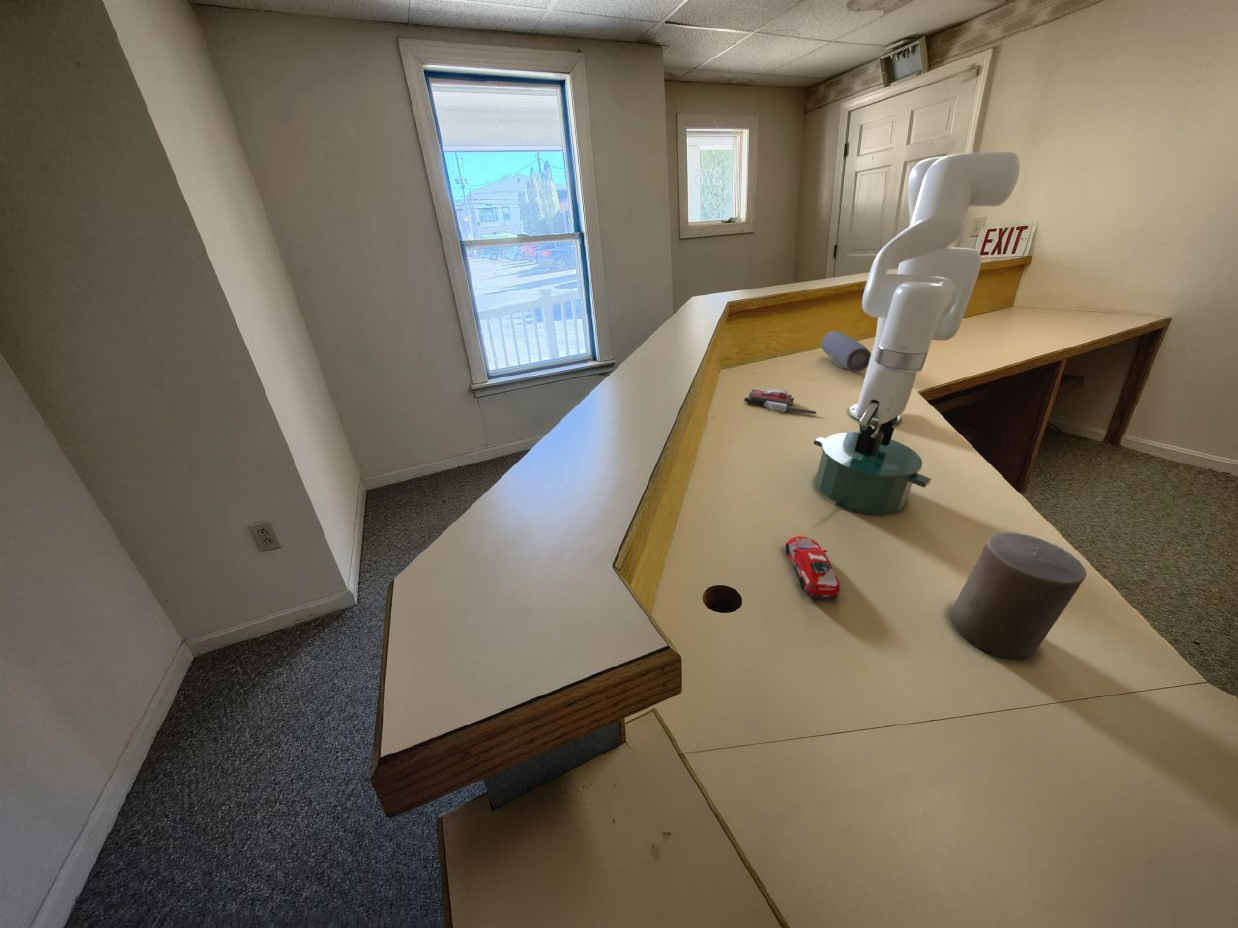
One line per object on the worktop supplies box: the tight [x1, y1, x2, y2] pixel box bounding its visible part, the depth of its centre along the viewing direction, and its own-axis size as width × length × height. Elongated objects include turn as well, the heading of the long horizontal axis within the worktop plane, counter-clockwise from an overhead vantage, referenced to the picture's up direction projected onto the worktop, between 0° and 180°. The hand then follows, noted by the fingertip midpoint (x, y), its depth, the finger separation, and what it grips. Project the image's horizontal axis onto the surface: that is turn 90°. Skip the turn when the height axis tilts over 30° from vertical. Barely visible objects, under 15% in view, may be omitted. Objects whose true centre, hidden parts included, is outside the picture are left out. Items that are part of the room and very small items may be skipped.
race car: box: [785, 535, 841, 600], centre depth 72 cm, size 13×5×4 cm, turn 177°
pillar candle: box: [950, 531, 1087, 661], centre depth 59 cm, size 10×10×15 cm
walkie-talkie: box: [743, 388, 817, 415], centre depth 130 cm, size 9×4×20 cm
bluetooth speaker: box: [820, 330, 872, 373], centre depth 162 cm, size 23×9×10 cm, turn 179°
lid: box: [820, 428, 923, 479], centre depth 88 cm, size 18×18×6 cm
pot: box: [813, 436, 932, 516], centre depth 91 cm, size 17×22×8 cm
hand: (871, 447), depth 88 cm, fingers open, 6 cm apart
